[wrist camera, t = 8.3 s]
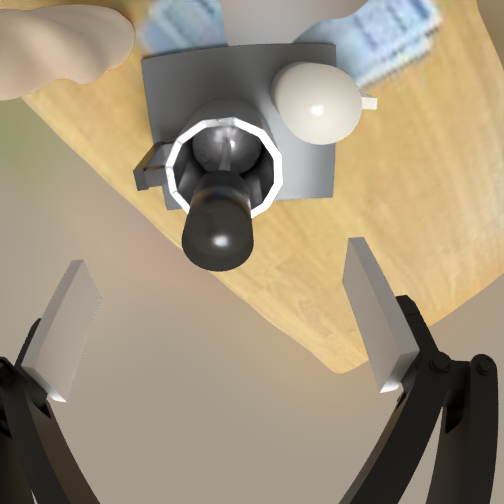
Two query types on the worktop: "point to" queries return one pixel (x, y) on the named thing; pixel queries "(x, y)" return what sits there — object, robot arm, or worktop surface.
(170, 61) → the slate board
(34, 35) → the water bottle
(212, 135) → the plunger
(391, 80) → the worktop surface
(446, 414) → the robot arm
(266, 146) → the press carafe
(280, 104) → the cream mug
